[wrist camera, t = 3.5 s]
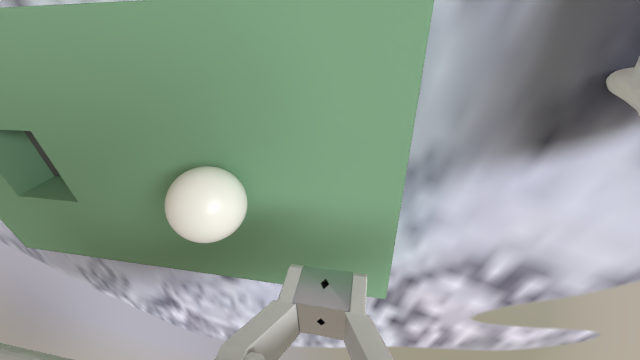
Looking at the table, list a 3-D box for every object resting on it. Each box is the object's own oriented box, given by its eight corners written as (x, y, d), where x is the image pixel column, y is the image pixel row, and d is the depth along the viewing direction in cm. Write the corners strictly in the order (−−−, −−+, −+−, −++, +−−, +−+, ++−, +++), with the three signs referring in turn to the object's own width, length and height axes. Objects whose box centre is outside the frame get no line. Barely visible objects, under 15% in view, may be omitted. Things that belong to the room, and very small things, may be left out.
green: (-103, 14, 17) (-183, 17, 15) (425, -12, 12) (436, -15, 9) (58, 224, 27) (26, 247, 25) (385, 264, 22) (385, 299, 19)
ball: (184, 150, 15) (130, 192, 12) (252, 154, 14) (214, 200, 11) (204, 206, 17) (163, 255, 14) (263, 212, 17) (234, 264, 13)
